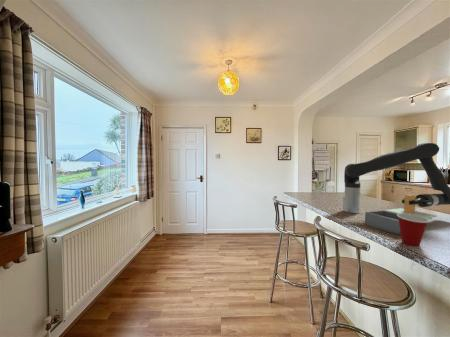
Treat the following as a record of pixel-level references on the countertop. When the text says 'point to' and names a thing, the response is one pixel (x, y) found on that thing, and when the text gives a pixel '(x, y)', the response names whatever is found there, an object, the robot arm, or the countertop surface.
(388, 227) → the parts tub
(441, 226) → the countertop surface
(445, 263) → the countertop surface
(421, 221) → the plastic cup
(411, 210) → the lid
